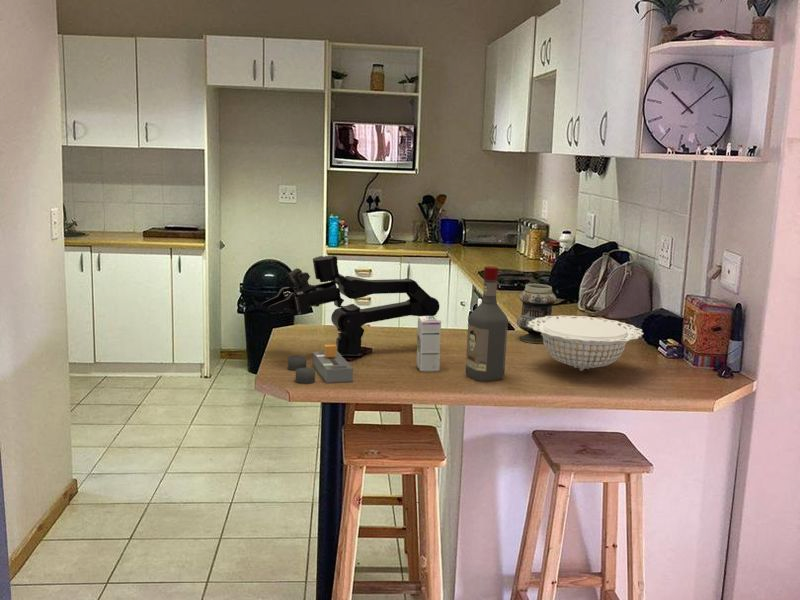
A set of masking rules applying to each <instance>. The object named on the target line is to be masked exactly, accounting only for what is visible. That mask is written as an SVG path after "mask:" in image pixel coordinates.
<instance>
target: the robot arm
mask: <svg viewBox="0 0 800 600" xmlns="http://www.w3.org/2000/svg"><path fill="white" fill-rule="evenodd" d="M312 262H313V270H314V271H313V272H314V275H315V279H316V280H319V284H310V283H309V280H310V278H311V275H310V273H309V272H306V271H305V272H302V270H301V269H300V268H295V269H293V270H291V271H290V272H288V273H287V278H289V279H290V280H291V282H292V284H293V286H294V287H293V289H292V287H289V286H285V287H282V288H281V289H279V292H278V293H277V295H275V296H274V297H272V298H269V299H268V300H266V301H264V302H262V303H261V304H260V305H261V308H266V309H268V310H269V311H272V312H278V313H279V312H280V313H284V314H285V313H286V314H292V315H300V316H302V315H305V314H308V313H309V311H311V310H310V309H311V308H313V307H315V308H317V307H320V305H324V304H328V303H334V306H335V307H337V308H335V309H334V311H333V312H331V313H332V314H331V323H332V324H333V326H335V327H336V329H337V332H338V333H337V334H338V335H337V337H336V339H335V342H336V343H335V345H336V346H337V351H338V352H339V353H340V354H341V353H342V354H357V353H361V355H360V356H361V357H363V354H362V337H363V336H364V333H365V329H364V328H363V327H364V325H366V324H370V323H375V322H382V321H386V320H387V321H388V320H393V319H397V318H402V317H403V318H404V317H410V316H413V317H418V316H419V317H420V316H437V314H438V313H439V310H440V302H439V300H438V299H437V298H436V297H433V296H431V295H429V293H427V292H426V290H424V289H423V288H422V287H421V286H420V285H419V284H418V282H417V281H415V280H414V279H412V278H403V279H402V278H401V279H394V278H393V279H366V278H361V277H357V276H352V275H346V276H344V275H342V274H340V273H339V267H338V256H336V255H327V256H326V255H325V256H324V255H320V256H315V257H314V258H312ZM379 294H380V295H381V294H384V295H385V294H406V295H407V296H408V298H409V299H406V300H405V301H402V302H397V303H390V304H384V305H378V306H372V307H367V308H360V307H359V306H357V305H356V304H354V303H351V304H348V305H342V304H343V303H344V301H345V300H344V299H343V298H342V297H341V295H343V296H344V297H346V298H348V299H350V300H356V299H361V298H365V297H367V296H370V295H379ZM362 326H363V327H362Z"/></svg>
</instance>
